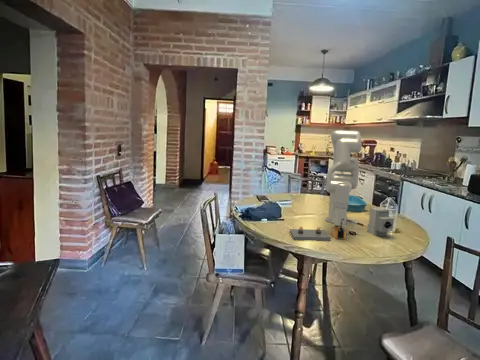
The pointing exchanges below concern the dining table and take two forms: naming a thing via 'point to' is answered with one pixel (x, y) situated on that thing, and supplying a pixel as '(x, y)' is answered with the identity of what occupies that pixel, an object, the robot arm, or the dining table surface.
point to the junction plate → (309, 234)
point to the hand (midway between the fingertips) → (338, 235)
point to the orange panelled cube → (335, 232)
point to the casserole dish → (356, 204)
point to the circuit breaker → (379, 221)
